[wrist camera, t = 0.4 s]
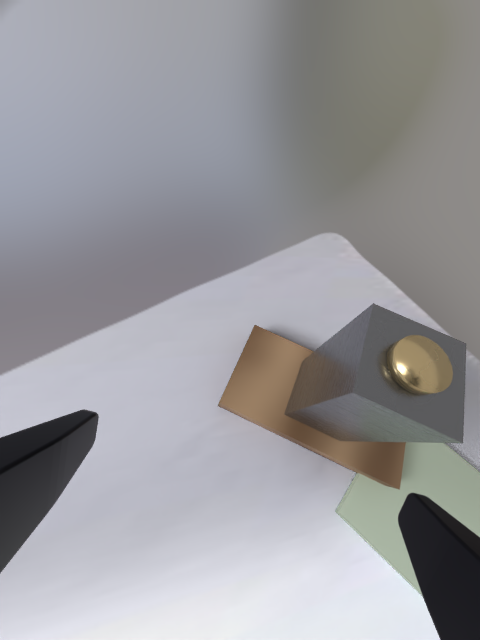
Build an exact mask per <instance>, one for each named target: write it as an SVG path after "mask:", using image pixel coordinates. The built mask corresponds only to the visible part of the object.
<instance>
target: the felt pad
mask: <svg viewBox="0 0 480 640" xmlns="http://www.w3.org/2000/svg"><path fill="white" fill-rule="evenodd" d="M410 493H417V494H421V495H425V496H427V497H428V498H430V499H431V500H432V501H434V502H435V503H436V504H438V505H439V506H440V507H441V508H443V509H444V510H445V511H447V512H448V513H449V514H450V515H452V516H453V517H454V518H456V519H457V520H458V521H459V522H461V523H462V524H463V525H465V526H466V527H467V528H468V529H470V530H471V531H472V532H474V533H475V534H476V535H477V536H479V537H480V472H479V471H478V470H476V469H475V468H474V467H473V466H471V465H470V464H469V463H468V462H467V461H465V460H464V459H463V458H462V457H461V456H459V455H458V454H457V453H456V452H454V451H453V450H452V449H451V448H450V447H448V446H447V445H446V444H445V443H420V442H406V445H405V453H404V461H403V469H402V477H401V485H400V490H399V489H396V488H392V487H388V486H385V485H383V484H381V483H378V482H376V481H374V480H372V479H370V478H368V477H366V476H364V475H362V474H360V473H357V474H356V475H355V477H354V479H353V481H352V483H351V484H350V486H349V488H348V490H347V492H346V493H345V495H344V497H343V499H342V500H341V502H340V504H339V506H338V508H337V509H336V511H335V512H336V513H337V514H338V515H339V516H340V517H341V518H342V519H343V520H344V521H345V522H346V523H348V524H349V525H350V526H351V527H352V528H353V529H354V530H355V531H356V532H357V533H358V534H359V535H360V536H361V537H362V538H363V539H364V540H365V541H366V542H367V543H368V544H369V545H370V546H371V547H372V548H373V549H374V550H375V551H376V552H377V553H378V554H379V555H380V556H382V557H383V558H384V559H385V560H386V561H387V562H388V563H389V564H390V565H391V566H392V567H393V568H394V569H395V570H396V571H397V572H398V573H399V574H400V575H401V576H402V577H403V578H404V579H405V580H406V581H407V582H408V583H409V584H410V585H411V586H412V587H413V588H414V589H416V590H417V591H418V592H419V593H420V594H421V595H422V593H421V590H420V587H419V584H418V581H417V578H416V575H415V572H414V569H413V566H412V563H411V560H410V557H409V554H408V551H407V548H406V545H405V542H404V539H403V536H402V533H401V530H400V527H399V524H398V514H399V512H400V510H401V508H402V506H403V503H404V501H405V499H406V497H407V495H408V494H410Z"/></svg>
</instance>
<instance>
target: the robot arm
mask: <svg viewBox="0 0 480 640" xmlns="http://www.w3.org/2000/svg"><path fill="white" fill-rule="evenodd" d="M97 425H98V414H97V413H96V412H92V411H88V410H80V411H77V412H74V413H71V414H68V415H65V416H62V417H59V418H57V419H54V420H51V421H48V422H45V423H42V424H39V425H36V426H33V427H30V428H27V429H25V430H22V431H19V432H16V433H13V434H10V435H7V436H4V437H1V438H0V573H1V572H2V570H3V569H4V568H5V567H6V565H7V564H8V563H9V561H10V560H11V559H12V558H13V556H14V555H15V554H16V553H17V551H18V550H19V549H20V547H21V546H22V545H23V544H24V542H25V541H26V540H27V539H28V537H29V536H30V535H31V533H32V532H33V531H34V530H35V528H36V527H37V526H38V525H39V523H40V522H41V521H42V520H43V518H44V517H45V516H46V514H47V513H48V512H49V510H50V509H51V508H52V506H53V505H54V504H55V502H56V501H57V499H58V498H59V497H60V495H61V494H62V492H63V491H64V489H65V487H66V486H67V484H68V483H69V481H70V480H71V478H72V477H73V475H74V474H75V472H76V471H77V469H78V468H79V466H80V465H81V463H82V461H83V460H84V458H85V457H86V455H87V454H88V452H89V451H90V449H91V448H92V446H93V444H94V441H95V438H96V431H97ZM398 524H399V527H400V530H401V533H402V536H403V539H404V542H405V545H406V548H407V551H408V554H409V557H410V560H411V563H412V566H413V569H414V572H415V575H416V578H417V581H418V584H419V587H420V590H421V593H422V596H423V598H424V601H425V603H426V606H427V608H428V611H429V613H430V616H431V618H432V620H433V623H434V625H435V628H436V630H437V633H438V635H439V637H440V640H480V537H479V536H477V535H476V534H475V533H474V532H472V531H471V530H470V529H468V528H467V527H466V526H465V525H463V524H462V523H461V522H459V521H458V520H457V519H456V518H454V517H453V516H452V515H450V514H449V513H448V512H447V511H445V510H444V509H443V508H441V507H440V506H439V505H438V504H436V503H435V502H434V501H432V500H431V499H430V498H428V497H427V496H425V495H421V494H417V493H410V494H408V495H407V497H406V499H405V501H404V503H403V506H402V508H401V510H400V512H399V514H398Z"/></svg>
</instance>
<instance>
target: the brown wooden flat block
mask: <svg viewBox="0 0 480 640" xmlns="http://www.w3.org/2000/svg"><path fill="white" fill-rule="evenodd" d="M313 352H314V351H311V350H309V349H307V348H305V347H303V346H300V345H298V344H296V343H294V342H292V341H289V340H287V339H285V338H283V337H281V336H278V335H276V334H274V333H272V332H270V331H267V330H265V329H263V328H261V327H259V326H256V325H255V326H254V328H253V330H252V332H251V334H250V336H249V339H248V341H247V343H246V345H245V347H244V349H243V352H242V354H241V356H240V358H239V360H238V363H237V365H236V367H235V369H234V371H233V373H232V376H231V378H230V380H229V382H228V384H227V386H226V389H225V391H224V393H223V395H222V397H221V400H220V402H219V404H218V406H219V407H222V408H224V409H226V410H228V411H230V412H232V413H234V414H236V415H238V416H240V417H242V418H244V419H246V420H248V421H251V422H253V423H255V424H257V425H259V426H261V427H263V428H265V429H267V430H269V431H271V432H273V433H275V434H277V435H280V436H282V437H284V438H286V439H288V440H290V441H292V442H294V443H296V444H298V445H300V446H302V447H304V448H307V449H309V450H311V451H313V452H315V453H317V454H319V455H321V456H323V457H325V458H327V459H329V460H331V461H333V462H336V463H338V464H340V465H342V466H344V467H346V468H348V469H350V470H352V471H354V472H356V473H360V474H362V475H364V476H366V477H368V478H370V479H372V480H374V481H376V482H378V483H381V484H383V485H385V486H388V487H392V488H396V489H399V490H400V485H401V477H402V469H403V461H404V453H405V445H406V442H353V441H339V440H337V439H335V438H333V437H330V436H328V435H326V434H324V433H322V432H320V431H318V430H316V429H314V428H311V427H309V426H307V425H305V424H303V423H301V422H299V421H297V420H295V419H293V418H290V417H288V416H286V415H284V413H285V410H286V407H287V404H288V401H289V398H290V395H291V392H292V389H293V386H294V383H295V380H296V378H297V375H298V372H299V369H300V366H301V363H302V361H303V360H304V359H305V358H307V357H308V356H309V355H310V354H312V353H313Z"/></svg>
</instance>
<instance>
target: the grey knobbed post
mask: <svg viewBox="0 0 480 640" xmlns="http://www.w3.org/2000/svg"><path fill="white" fill-rule="evenodd" d="M465 363H466V343H464V342H461V341H459V340H457V339H454V338H452V337H450V336H447V335H445V334H443V333H441V332H438V331H436V330H434V329H431V328H429V327H427V326H424V325H422V324H420V323H417V322H415V321H413V320H410V319H408V318H406V317H403V316H401V315H399V314H396V313H394V312H392V311H390V310H387V309H385V308H383V307H380V306H378V305H376V304H372V305H371V306H370V307H368V308H367V309H366V310H365V311H363V312H362V313H361V314H360V315H359V316H357V317H356V318H355V319H354V320H352V321H351V322H350V323H349V324H347V325H346V326H345V327H344V328H343V329H341V330H340V331H339V332H338V333H336V334H335V335H334V336H333V337H331V338H330V339H329V340H328V341H326V342H325V343H324V344H323V345H322V346H320V347H319V348H318V349H317V350H315V351H314V352H313V353H312V354H310V355H309V356H308V357H307V358H305V359H304V360H303V361H302V363H301V366H300V369H299V372H298V375H297V378H296V380H295V383H294V386H293V389H292V392H291V395H290V398H289V401H288V404H287V407H286V410H285V413H284V415H286V416H288V417H290V418H293V419H295V420H297V421H299V422H301V423H303V424H305V425H307V426H309V427H311V428H314V429H316V430H318V431H320V432H322V433H324V434H326V435H328V436H330V437H333V438H335V439H337V440H339V441H353V442H420V443H463V425H464V394H465Z"/></svg>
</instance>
